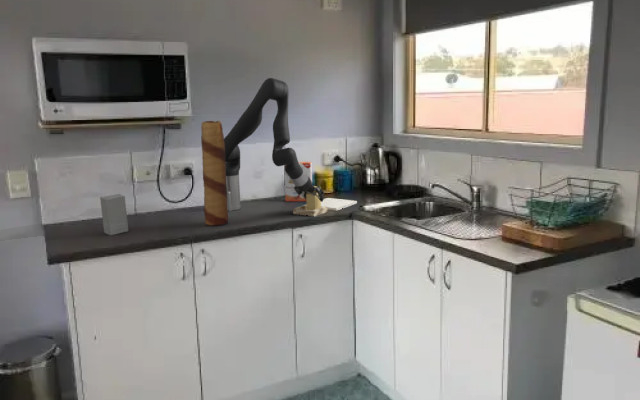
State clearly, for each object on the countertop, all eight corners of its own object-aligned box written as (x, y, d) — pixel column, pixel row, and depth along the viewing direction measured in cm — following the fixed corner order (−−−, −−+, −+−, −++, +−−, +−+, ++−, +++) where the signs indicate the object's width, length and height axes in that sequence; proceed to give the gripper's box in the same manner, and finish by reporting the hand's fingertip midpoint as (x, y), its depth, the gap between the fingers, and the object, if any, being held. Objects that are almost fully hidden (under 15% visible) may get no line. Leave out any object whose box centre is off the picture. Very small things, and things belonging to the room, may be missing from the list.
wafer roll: (229, 220, 235) (223, 120, 226) (228, 225, 225) (223, 121, 216) (206, 221, 233) (199, 121, 225) (204, 227, 223) (197, 122, 214)
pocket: (313, 216, 239) (313, 211, 238) (293, 213, 245) (292, 208, 245) (327, 211, 248) (327, 206, 248) (307, 209, 255) (306, 204, 254)
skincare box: (122, 229, 222) (119, 193, 219) (129, 232, 217) (126, 195, 214) (102, 233, 216) (98, 196, 213) (109, 236, 211) (105, 198, 208)
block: (315, 213, 246) (314, 188, 243) (306, 212, 248) (306, 187, 246) (321, 211, 250) (320, 186, 247) (312, 210, 253) (312, 186, 250)
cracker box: (285, 201, 274) (283, 162, 270) (287, 199, 280) (285, 161, 275) (311, 202, 272) (310, 162, 268) (312, 199, 278) (311, 161, 274)
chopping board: (336, 210, 250) (336, 208, 250) (306, 206, 260) (306, 204, 260) (356, 203, 266) (356, 201, 266) (327, 200, 276) (327, 197, 276)
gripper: (316, 173, 235) (330, 194, 247) (291, 171, 243) (306, 191, 255) (310, 187, 232) (324, 207, 243) (285, 184, 240) (300, 204, 251)
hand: (315, 199), depth 249 cm, fingers open, 8 cm apart
